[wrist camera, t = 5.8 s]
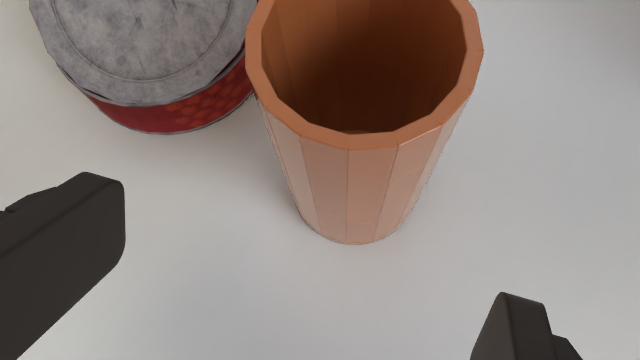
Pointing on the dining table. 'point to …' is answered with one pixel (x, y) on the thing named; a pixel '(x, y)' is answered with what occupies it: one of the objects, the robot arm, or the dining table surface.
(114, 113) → the canned food
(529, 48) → the dining table surface
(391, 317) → the dining table surface
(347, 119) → the tumbler
